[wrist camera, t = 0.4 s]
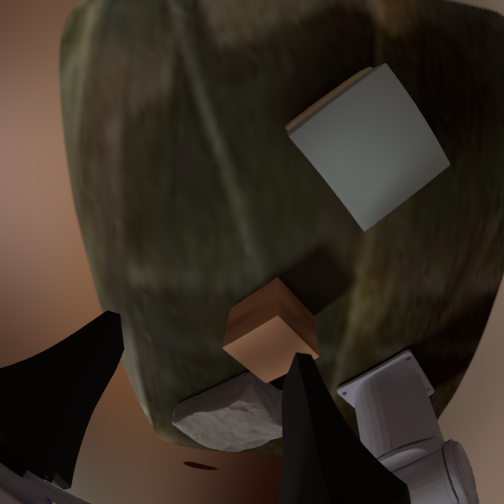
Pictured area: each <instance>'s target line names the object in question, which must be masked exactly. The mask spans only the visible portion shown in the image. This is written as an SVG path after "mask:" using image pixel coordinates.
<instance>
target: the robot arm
mask: <svg viewBox="0 0 504 504" xmlns="http://www.w3.org/2000/svg"><path fill="white" fill-rule="evenodd" d="M123 351H124V343H123V335H122V327H121V318H120V314H118V313H114V312H111V311H106V312H104V313H103V314H101V315H100V316H99V317H97V318H96V319H94V320H93V321H91V322H90V323H88V324H87V325H85V326H84V327H82V328H81V329H79V330H78V331H76V332H75V333H73V334H72V335H70V336H69V337H67V338H66V339H64V340H62V341H60V342H59V343H57V344H56V345H54V346H52V347H51V348H49V349H47V350H45V351H43V352H41V353H39V354H37V355H35V356H33V357H30V358H28V359H26V360H23V361H20V362H18V363H15V364H13V365H9V366H6V367H3V368H0V504H53V503H52V502H54V503H56V504H90V503H88V502H85V501H84V500H81V499H79V498H77V497H75V496H73V495H71V494H69V493H67V492H65V491H63V490H61V489H59V488H57V487H55V486H53V485H52V484H54V485H56V486H58V487H60V488H62V489H69V488H71V485H72V479H73V473H74V469H75V464H76V460H77V457H78V453H79V450H80V446H81V443H82V440H83V437H84V434H85V431H86V428H87V426H88V423H89V420H90V418H91V415H92V413H93V411H94V409H95V407H96V405H97V403H98V401H99V399H100V397H101V396H102V394H103V392H104V390H105V388H106V387H107V385H108V383H109V381H110V379H111V378H112V376H113V374H114V372H115V370H116V368H117V366H118V364H119V361H120V359H121V356H122V354H123ZM337 393H338V394H339V395H340V396H342V397H343V398H344V399H345V400H346V401H347V402H348V403H350V404H351V405H352V406H353V407H354V408H355V410H356V415H357V421H358V427H359V433H360V439H361V441H360V440H359V438H358V437H357V436H356V435H355V433H354V432H353V431H352V429H351V428H350V426H349V425H348V423H347V422H346V421H345V419H344V417H343V416H342V414H341V413H340V411H339V409H338V408H337V406H336V404H335V402H334V401H333V399H332V397H331V395H330V393H329V391H328V389H327V387H326V385H325V383H324V381H323V379H322V377H321V375H320V373H319V371H318V368H317V366H316V364H315V361H314V359H313V357H312V355H311V354H306V353H299V352H296V353H295V356H294V358H293V361H292V363H291V366H290V368H289V371H288V373H287V376H286V378H285V381H284V383H283V392H282V404H281V410H282V439H283V463H282V474H281V483H280V491H279V499H278V504H479V498H478V495H477V491H476V484H475V478H474V475H473V471H472V468H471V465H470V462H469V460H468V457H467V455H466V453H465V450H464V449H463V447H462V445H461V444H460V443H459V442H457V441H453V440H448V441H446V442H445V441H444V440H443V437H442V434H441V431H440V428H439V425H438V422H437V419H436V416H435V413H434V411H433V408H432V405H431V402H430V400H429V397H428V396H430V395H431V394H433V393H434V389H433V387H432V385H431V384H430V382H429V380H428V379H427V377H426V375H425V374H424V372H423V370H422V369H421V367H420V365H419V364H418V362H417V360H416V359H415V357H414V356H413V354H412V352H411V351H410V350H405V351H403V352H401V353H400V354H398V355H396V356H395V357H393V358H391V359H390V360H388V361H386V362H384V363H383V364H381V365H379V366H377V367H375V368H374V369H372V370H370V371H368V372H366V373H364V374H363V375H361V376H359V377H357V378H355V379H353V380H351V381H349V382H347V383H345V384H343V385H341V386H339V387H338V388H337ZM44 480H46V481H48V482H49V483H48V482H46V481H44ZM50 483H52V484H50Z"/></svg>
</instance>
